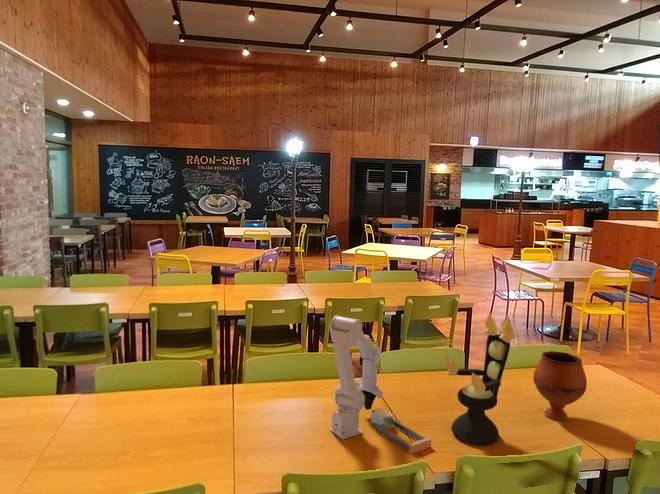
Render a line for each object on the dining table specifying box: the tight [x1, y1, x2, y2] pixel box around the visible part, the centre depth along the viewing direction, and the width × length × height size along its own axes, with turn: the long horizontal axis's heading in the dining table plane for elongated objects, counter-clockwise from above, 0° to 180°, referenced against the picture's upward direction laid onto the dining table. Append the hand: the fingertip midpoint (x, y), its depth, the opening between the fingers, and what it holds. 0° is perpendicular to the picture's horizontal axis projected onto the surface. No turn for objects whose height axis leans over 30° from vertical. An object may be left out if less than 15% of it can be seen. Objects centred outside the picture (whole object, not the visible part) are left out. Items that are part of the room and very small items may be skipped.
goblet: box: [533, 350, 588, 422], centre depth 203 cm, size 19×19×25 cm
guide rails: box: [375, 419, 432, 454], centre depth 183 cm, size 9×20×3 cm, turn 33°
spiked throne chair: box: [444, 312, 515, 446], centre depth 186 cm, size 19×22×45 cm
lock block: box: [370, 407, 395, 430], centre depth 193 cm, size 5×7×5 cm
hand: (368, 408), depth 200 cm, fingers closed
